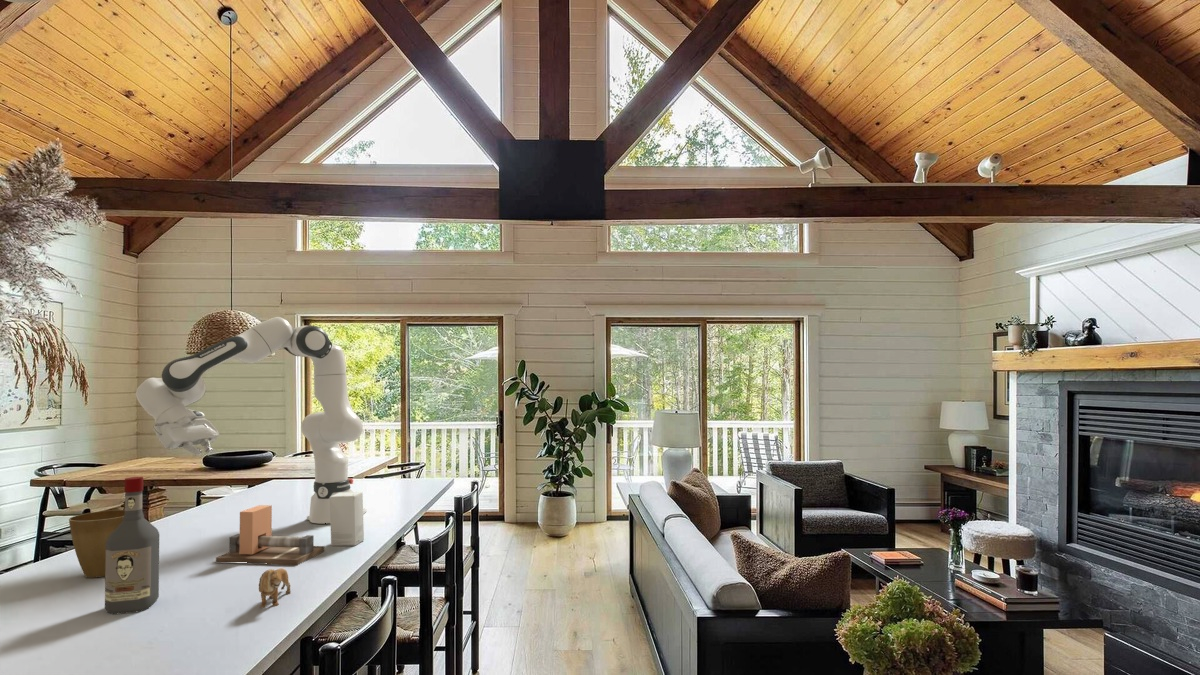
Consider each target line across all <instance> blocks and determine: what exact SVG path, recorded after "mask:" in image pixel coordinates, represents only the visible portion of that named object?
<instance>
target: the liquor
mask: <svg viewBox="0 0 1200 675" xmlns="http://www.w3.org/2000/svg"><path fill="white" fill-rule="evenodd" d="M143 491H144V476H131V477H127V478H124V493H125V496H124V510H125V515H124V517H123V521H122V522H121V524H120V525H119V526H118V527H117V528H116V529H115V530H114V531H113V532H112V533H111V535H110V536H109V537H108V539H107V541H106V563H105V576H104V583H105V584H104V609H105V611H106V613H108V614H112V615H117V613H121V614H127V613H126V612H131V613H137V612H136V611H138V612H141V610H142V611H145V610H148V609H150V608H151V607H152V606H153V605H154V604H155V603H156V602H157V600H158V599H159V596H160V594H159V593H160V589H159V588H160V585H159V584H160V531H159V530H158V529H157V527H155V526H154V524H152V523H150V521H148V520H147V519H146V518H145V515H144V511H143ZM149 607H150V608H149ZM144 609H145V610H144Z"/></svg>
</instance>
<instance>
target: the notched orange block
mask: <svg viewBox="0 0 1200 675" xmlns="http://www.w3.org/2000/svg"><path fill="white" fill-rule="evenodd" d="M272 511H273V508H272V505H270V504H269V505H263V504H259V505H256V506H254V507H250V508H248V509H245V510H242V511H239V534H240V545H239V554H254V553H257V552H259V551H261V550H263V549H266V548H268V547H260V546H258V536H273V535H272V534H273V533H272V530H273V528H272V521H273V519H272V517H273V514H272V513H273V512H272Z"/></svg>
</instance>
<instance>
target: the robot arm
mask: <svg viewBox="0 0 1200 675" xmlns="http://www.w3.org/2000/svg"><path fill="white" fill-rule="evenodd" d="M281 349H284V350H285V351H287V353H289V354H290V355H292V356H295V357H301V358H310V359H311V361H312V363H313V379H314V380H313V388H314V391H313V392H314V398H315V399H316V400H317V401H318V402H319V403H320V405H321V407H322V410H323V411H318V412H313V413H310V414H308V415H306V416H305V417H304V418H303V420H302V422H301V427H300V429H301V433H302V435H303V436H304V437H305V438H306V440H307V441H308V443H309V445H310V448H311V450H312V454H313V457H314V473H315V474H314V482H313V487H312V488H313V492H314V493H313V494H312V496H311V498H310V504H309V505H310V506H309V515H307V516H306V520H308V521H309V522H310V523H313V524H319V525H320V524H325V523H326V524H330V497H331V496H333V495H335V494H337V493H345V492H354V491H353V490H352V489H351V488H352V487H351V485H353V484H354V479H353V478H349V476H348V475H349V471H348V469H349V459H348V457H347V455H346V454H345V453H344V451H343V450H342V449H341V446H340V444H345V443H346V444H347V443H351V442H354V441H356V440H358V439H359V438H360V437H361V435H362V432H363V427H364V425H363V422H362V419H361V418H360V417H359V416H358V415H357V414H356V413H355V410H354V409H353V407H352V404H351V402H350V399H349V395H348V385H347V381H348V380H347V365H346V359H345V354H344V350H343V349H342V347H341V346H340V345H337V344H334V343H332V342H331V340H330V338H329V336H328V334H327V332H326V331H325V330H324V329H323V328H322V327H319V326H317V325H300V326H295V327H293V326H292V324H290V322H289V321H288V320H287V319H285V318H283V317H282V316H281V317H280V316H275V317H272V318H269V319H266V320H264V321H261V322H260V323H258V324H256V325H254V326H251V328H249V329H246V330H245V331H243V332H242V333H239V334H237V335H234V336H231V337H229V338H225V339H224V340H221V341H219V342H216V343H215V344H212V345H211V346H209V347H207V348H205V349H203V350H200V351H199V352H197V353H195V354H191V355H188V356H183V357H179V358H175V359H174V360H171V361H170V362H168V363H167V364H166V365H165V366H164V368H163V369H162V372H161V377H148V378H147V379H145V380H143V381H142V382H141V383H140V384H139V385H138V387H137V389H136V390H135V397H136V399H137V402H138V403H139V404H140V406H141V407H142V409H144V411H145V412H146V413H147V415H149V416H151V417H152V418H153V419H154V422H155V423H154V425H153V428H152V429H153V431H154V432H155V436H156V438H157V439H158V440H159V442H160V444H161V445H162V446H163V447H164V448H165V449H167V450H175V449H181V448H184V449H185V450H186V451H188V452H190V453H192V454H193V456H195V457H197V456H201V454H203V452H205V454H207V455H208V454H211V453H213V451H214V448H213V447H212V446H211V443H214V442H215V441H216V440H217V439H218V438H219V436H220V432H219V431H218V429H217V428H216V427H215V425H214V424H212V422H211V421H210V420H209V419H207V418H205V417H206V415H205V414H204V413H203V411H199V410H194V409H191V408H187V407H188V406H190V405H192V404H194V403H197V402H198V401H200V400H201V399H202V398H203V397H204V396H205V394H206V392H207V386H206V384H205V381H204V378H203V376H204V374H205V373H207V371H210V370H211V369H214V368H216V367H217V366H219V365H221V364H223V363H225V362H227V361H229V360H238V361H240V362H242V363H246V364H256V363H259V362H260V361H262V360H265V359H266V358H268V357H269V356H271V355H273V354H274V353H276V352H277V351H278V350H281ZM197 445H200V446H202V447H203V450H202V449H201V448H200V447H197ZM366 512H367V508H364V507H363V515H364V514H365V513H366Z"/></svg>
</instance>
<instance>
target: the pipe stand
mask: <svg viewBox="0 0 1200 675" xmlns="http://www.w3.org/2000/svg"><path fill="white" fill-rule="evenodd" d="M314 541H315V540H314V535H313V534H311V535H310V534H307V535H305V536H281V535H280V536H279V535H272V536H258V546H260V547H268V548H266V549H263V550H261V551H259V552H257V553H254V554H239V545H240V533H236V534H234V535H232V536H229V542H228V544H229V545H228V548H229V549H228V550H229V551H228V552H226V553H222V554H221V555H219V556H217V557H215V563H216V562H247V563H267V564H266V565H271V564H279V565H280V566H299V565H301V564H302V562H303V563H305V562H306V561H309V560H310V559H312V558H314V557H316V556H318V555H320V554H321V553H324V552H325V545H314ZM304 561H305V562H304ZM300 563H301V564H300ZM298 564H299V565H298ZM279 565H278V566H279Z"/></svg>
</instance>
